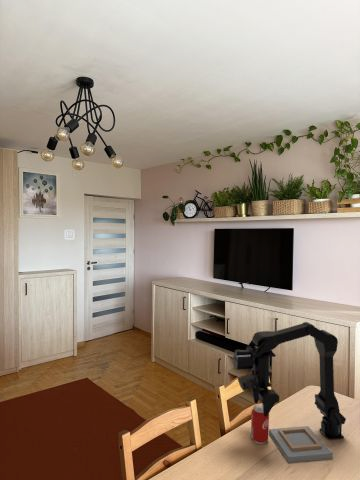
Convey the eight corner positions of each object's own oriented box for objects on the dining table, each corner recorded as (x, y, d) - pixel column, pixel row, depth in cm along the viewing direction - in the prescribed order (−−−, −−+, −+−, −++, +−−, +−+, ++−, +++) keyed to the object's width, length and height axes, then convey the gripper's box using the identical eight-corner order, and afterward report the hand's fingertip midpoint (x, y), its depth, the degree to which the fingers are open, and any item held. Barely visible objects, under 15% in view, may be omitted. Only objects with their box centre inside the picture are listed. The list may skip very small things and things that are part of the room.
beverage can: (268, 446, 123) (269, 414, 123) (250, 444, 125) (251, 411, 124) (267, 436, 130) (268, 405, 129) (250, 433, 131) (251, 403, 130)
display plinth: (308, 431, 133) (308, 423, 133) (332, 458, 117) (332, 449, 117) (268, 434, 131) (269, 426, 131) (288, 462, 115) (288, 453, 115)
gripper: (232, 359, 134) (231, 398, 135) (249, 380, 116) (248, 425, 116) (259, 357, 136) (258, 396, 136) (280, 378, 117) (279, 423, 118)
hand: (260, 409), depth 127 cm, fingers open, 9 cm apart
